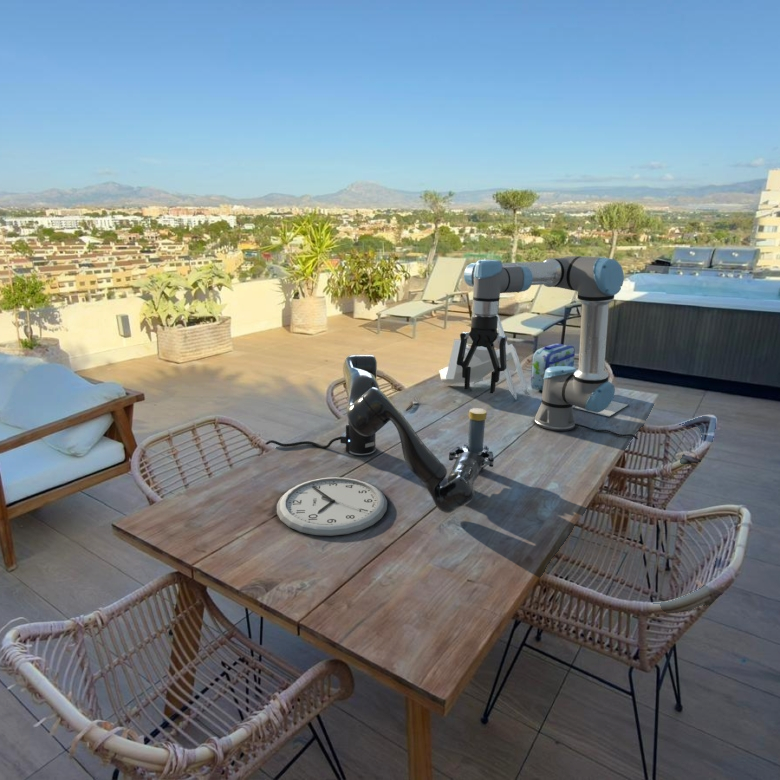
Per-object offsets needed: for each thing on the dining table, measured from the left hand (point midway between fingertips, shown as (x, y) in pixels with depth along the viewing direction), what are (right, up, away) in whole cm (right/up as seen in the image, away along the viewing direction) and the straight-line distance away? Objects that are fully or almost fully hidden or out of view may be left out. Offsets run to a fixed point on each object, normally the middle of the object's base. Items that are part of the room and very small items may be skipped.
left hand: (476, 447), depth 166 cm
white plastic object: (+14, +17, +77) cm, 80 cm away
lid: (-1, +11, -6) cm, 13 cm away
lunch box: (+50, +19, +85) cm, 101 cm away
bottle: (-1, -7, 0) cm, 7 cm away
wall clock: (-43, -13, -24) cm, 51 cm away
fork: (-18, +11, +56) cm, 60 cm away
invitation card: (+64, +11, +60) cm, 88 cm away
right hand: (-1, +18, -8) cm, 20 cm away
